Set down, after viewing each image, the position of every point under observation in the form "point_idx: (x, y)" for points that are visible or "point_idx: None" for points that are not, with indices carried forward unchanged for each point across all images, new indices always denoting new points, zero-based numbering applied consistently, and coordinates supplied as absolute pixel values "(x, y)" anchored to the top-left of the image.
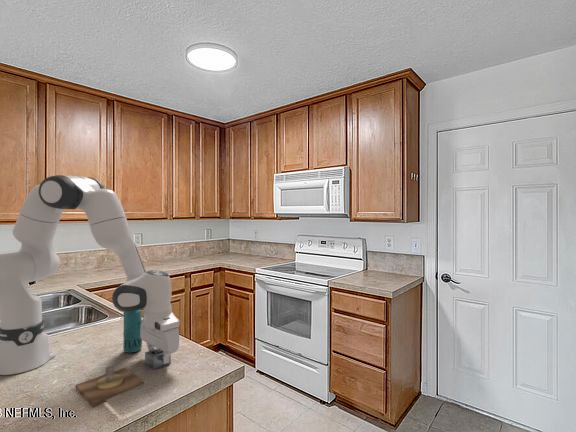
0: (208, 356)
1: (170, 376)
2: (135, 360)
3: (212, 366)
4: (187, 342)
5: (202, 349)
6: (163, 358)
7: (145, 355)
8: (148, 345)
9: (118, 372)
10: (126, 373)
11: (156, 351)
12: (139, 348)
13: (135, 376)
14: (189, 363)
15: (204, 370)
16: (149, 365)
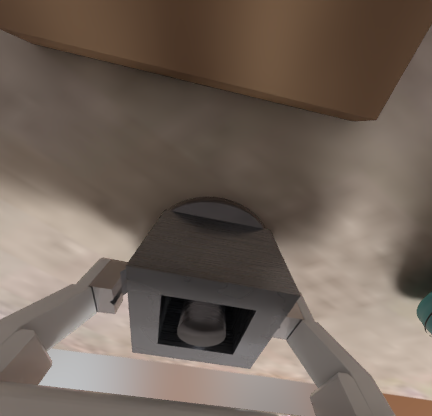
0: (121, 344)
1: (61, 211)
2: (372, 240)
3: None
4: (263, 373)
5: (180, 361)
6: (79, 286)
7: (283, 271)
8: (339, 374)
9: (373, 9)
10: (274, 46)
11: (209, 330)
12: (426, 314)
13: (151, 54)
14: (121, 304)
15: (27, 292)
16: (217, 223)
